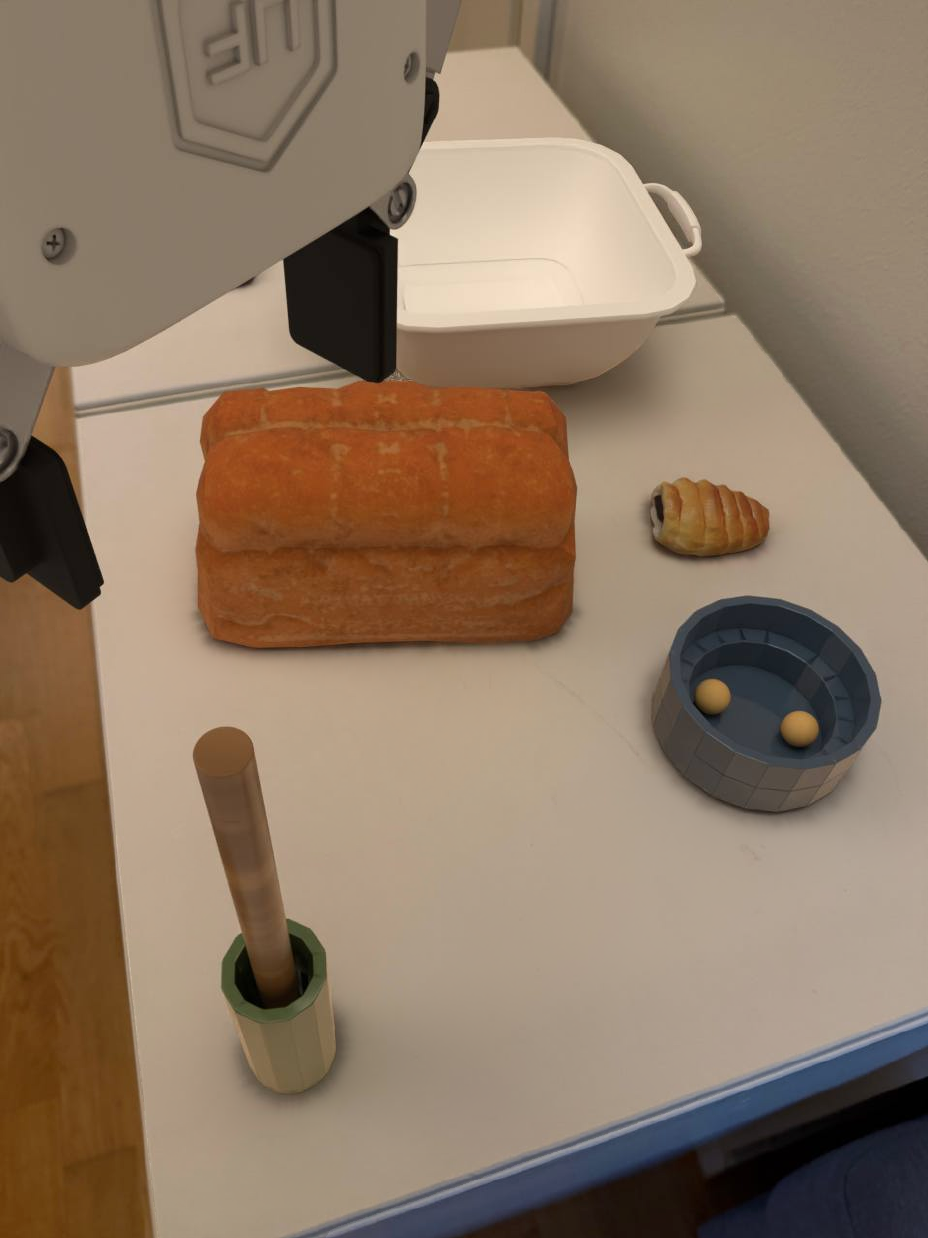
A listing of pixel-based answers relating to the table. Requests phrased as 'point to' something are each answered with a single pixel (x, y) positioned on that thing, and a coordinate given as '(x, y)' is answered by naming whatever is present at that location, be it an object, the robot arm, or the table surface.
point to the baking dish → (533, 263)
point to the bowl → (765, 702)
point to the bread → (384, 515)
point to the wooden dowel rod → (248, 858)
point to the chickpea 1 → (712, 696)
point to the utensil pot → (284, 1016)
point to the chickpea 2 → (799, 729)
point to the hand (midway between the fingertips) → (209, 453)
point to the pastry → (706, 518)
